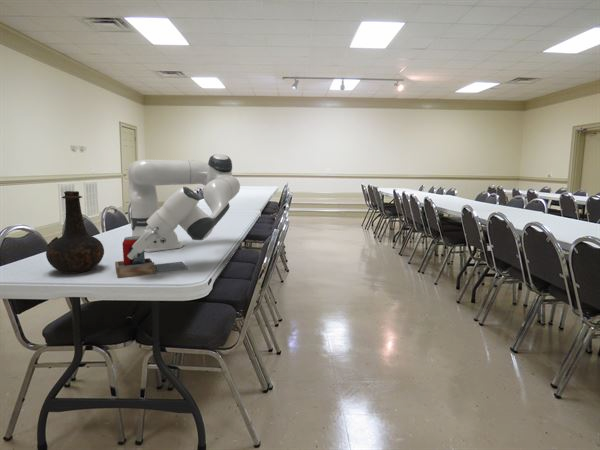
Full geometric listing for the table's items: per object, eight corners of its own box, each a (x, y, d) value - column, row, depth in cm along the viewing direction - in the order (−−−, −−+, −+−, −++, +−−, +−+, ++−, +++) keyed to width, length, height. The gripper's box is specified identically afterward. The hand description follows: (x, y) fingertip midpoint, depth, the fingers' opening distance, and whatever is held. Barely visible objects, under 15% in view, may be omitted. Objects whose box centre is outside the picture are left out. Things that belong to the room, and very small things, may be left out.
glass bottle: (58, 265, 150) (51, 190, 146) (110, 262, 154) (104, 189, 150) (39, 278, 132) (30, 193, 128) (98, 275, 136) (91, 192, 132)
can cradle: (150, 266, 148) (149, 256, 148) (154, 273, 138) (154, 262, 137) (115, 269, 143) (114, 259, 142) (117, 277, 133) (116, 266, 132)
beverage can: (138, 274, 137) (135, 239, 135) (120, 273, 138) (117, 239, 136) (149, 269, 143) (147, 236, 141) (132, 268, 144) (129, 235, 143)
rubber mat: (182, 263, 153) (181, 261, 152) (187, 268, 144) (187, 267, 144) (154, 266, 148) (154, 264, 148) (158, 272, 139) (158, 270, 139)
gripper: (162, 237, 130) (132, 268, 130) (170, 227, 150) (144, 254, 150) (147, 223, 129) (116, 255, 129) (157, 216, 149) (131, 243, 149)
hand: (131, 254), depth 139 cm, fingers closed on beverage can, 7 cm apart
